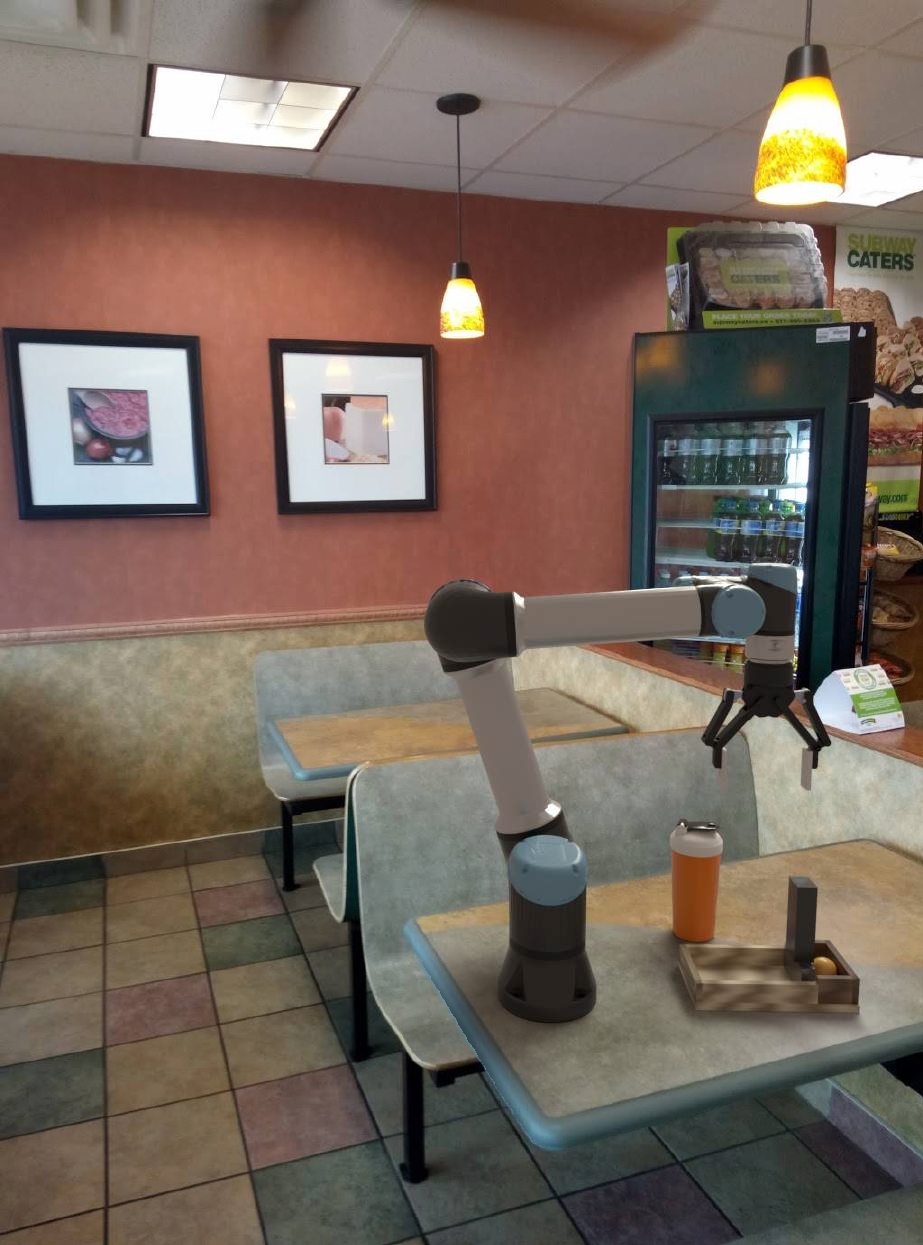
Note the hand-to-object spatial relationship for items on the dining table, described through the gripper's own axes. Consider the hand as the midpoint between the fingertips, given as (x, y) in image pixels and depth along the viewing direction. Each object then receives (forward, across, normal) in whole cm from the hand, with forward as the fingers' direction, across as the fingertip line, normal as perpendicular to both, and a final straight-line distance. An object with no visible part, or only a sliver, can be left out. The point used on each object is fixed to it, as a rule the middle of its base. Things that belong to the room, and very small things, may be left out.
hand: (763, 787), depth 147 cm
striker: (+27, +3, -11) cm, 30 cm away
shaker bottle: (+29, -9, +7) cm, 31 cm away
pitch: (+29, -2, -11) cm, 31 cm away
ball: (+26, +7, -11) cm, 29 cm away
